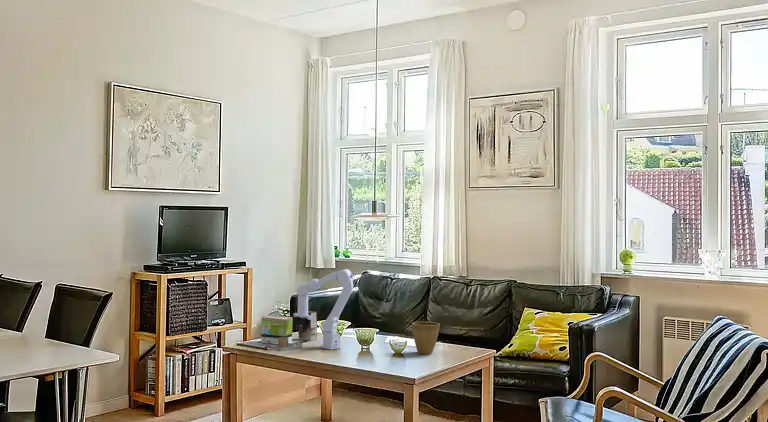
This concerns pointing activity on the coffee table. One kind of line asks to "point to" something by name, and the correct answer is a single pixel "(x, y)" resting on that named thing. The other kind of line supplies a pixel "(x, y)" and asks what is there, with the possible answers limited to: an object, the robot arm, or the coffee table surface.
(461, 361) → the coffee table surface
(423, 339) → the plant pot
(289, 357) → the coffee table surface
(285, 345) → the rail
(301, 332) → the block
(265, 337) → the tea box
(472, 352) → the coffee table surface
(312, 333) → the coffee box
